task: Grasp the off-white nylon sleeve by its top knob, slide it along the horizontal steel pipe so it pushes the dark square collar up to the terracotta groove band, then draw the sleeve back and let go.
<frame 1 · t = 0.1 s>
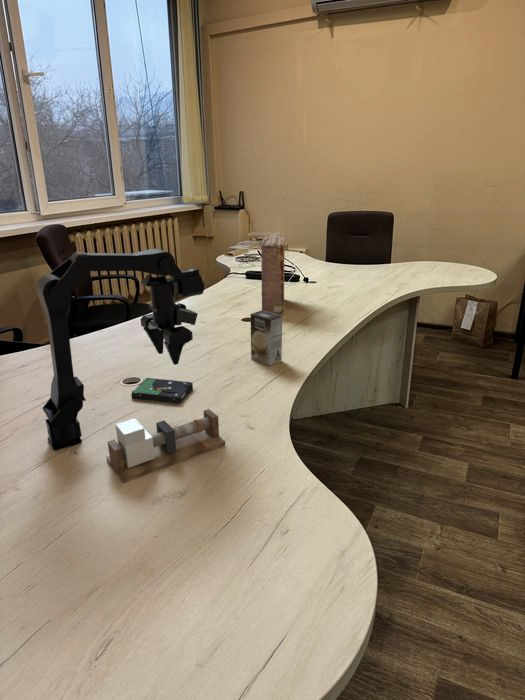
hand: (168, 358, 127), 15 cm above the table, fingers open, 9 cm apart
book: (273, 307, 224), on the table
disk drive: (163, 395, 141), on the table
coffee box: (266, 360, 164), on the table
pipe rig: (167, 452, 113), on the table
dark square collar: (166, 436, 111), point 4 cm above the table, slide at 0.0 cm
sleeve: (135, 441, 107), point 6 cm above the table, slide at 0.0 cm
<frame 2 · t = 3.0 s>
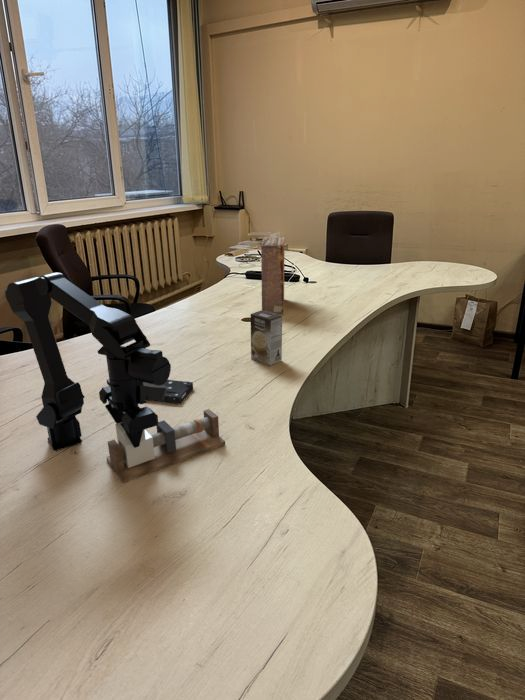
hand: (131, 441, 106), 6 cm above the table, fingers closed on sleeve, 5 cm apart
sleeve: (135, 441, 107), point 6 cm above the table, slide at 0.0 cm, touching gripper
everything else where it was.
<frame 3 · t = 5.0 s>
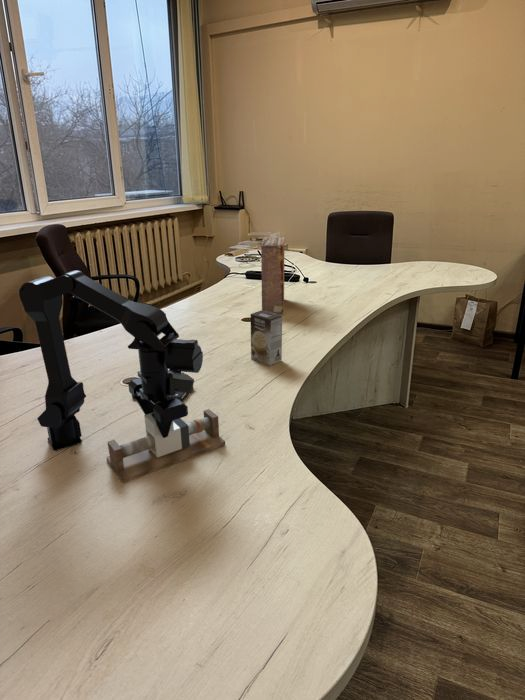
hand: (159, 431, 110), 6 cm above the table, fingers closed on sleeve, 5 cm apart
dark square collar: (179, 432, 113), point 4 cm above the table, slide at 3.4 cm, touching sleeve
sleeve: (163, 432, 110), point 6 cm above the table, slide at 6.6 cm, touching gripper, dark square collar
everything else where it was.
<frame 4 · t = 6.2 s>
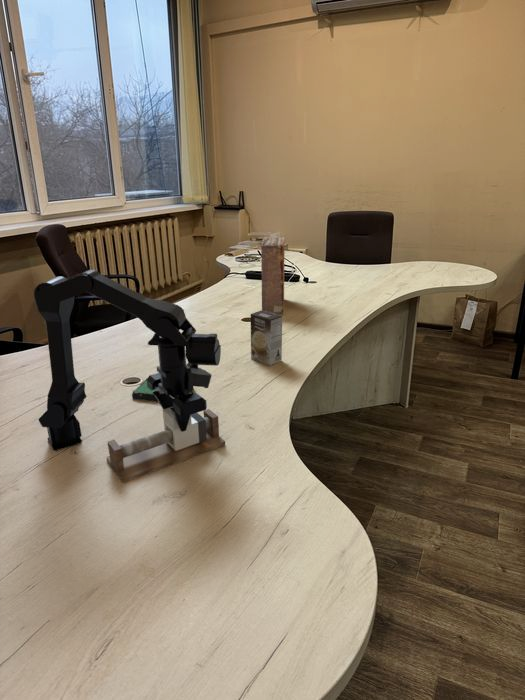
hand: (177, 425, 112), 6 cm above the table, fingers closed on sleeve, 5 cm apart
dark square collar: (196, 426, 115), point 4 cm above the table, slide at 7.9 cm, touching sleeve
sleeve: (181, 426, 113), point 6 cm above the table, slide at 11.1 cm, touching gripper, dark square collar
everything else where it was.
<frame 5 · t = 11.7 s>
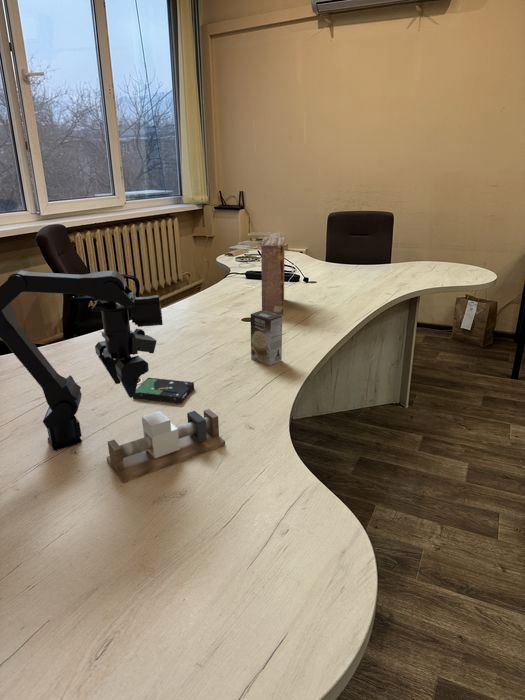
hand: (124, 390, 116), 12 cm above the table, fingers open, 9 cm apart
dark square collar: (196, 426, 115), point 4 cm above the table, slide at 7.9 cm
sleeve: (160, 433, 110), point 6 cm above the table, slide at 6.0 cm
everything else where it was.
at the end: dark square collar 0.1 cm from the target spot on the pipe rig, point 4.2 cm above the pipe rig's base; dark square collar touching nothing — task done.
